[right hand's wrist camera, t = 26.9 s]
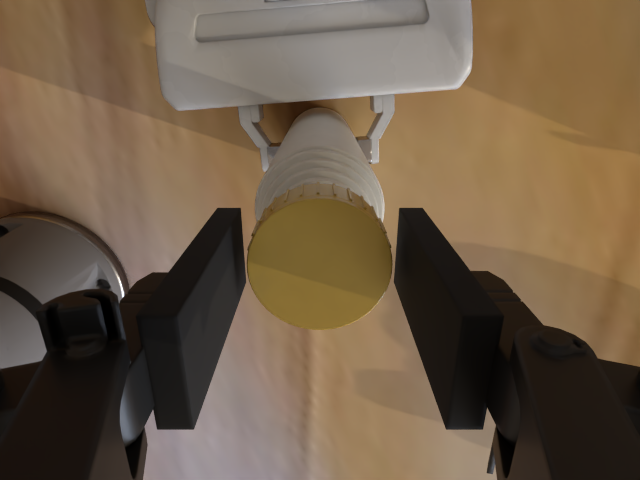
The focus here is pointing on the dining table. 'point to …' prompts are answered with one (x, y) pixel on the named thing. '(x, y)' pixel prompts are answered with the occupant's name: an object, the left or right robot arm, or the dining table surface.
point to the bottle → (319, 161)
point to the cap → (319, 257)
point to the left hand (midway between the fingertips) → (321, 166)
